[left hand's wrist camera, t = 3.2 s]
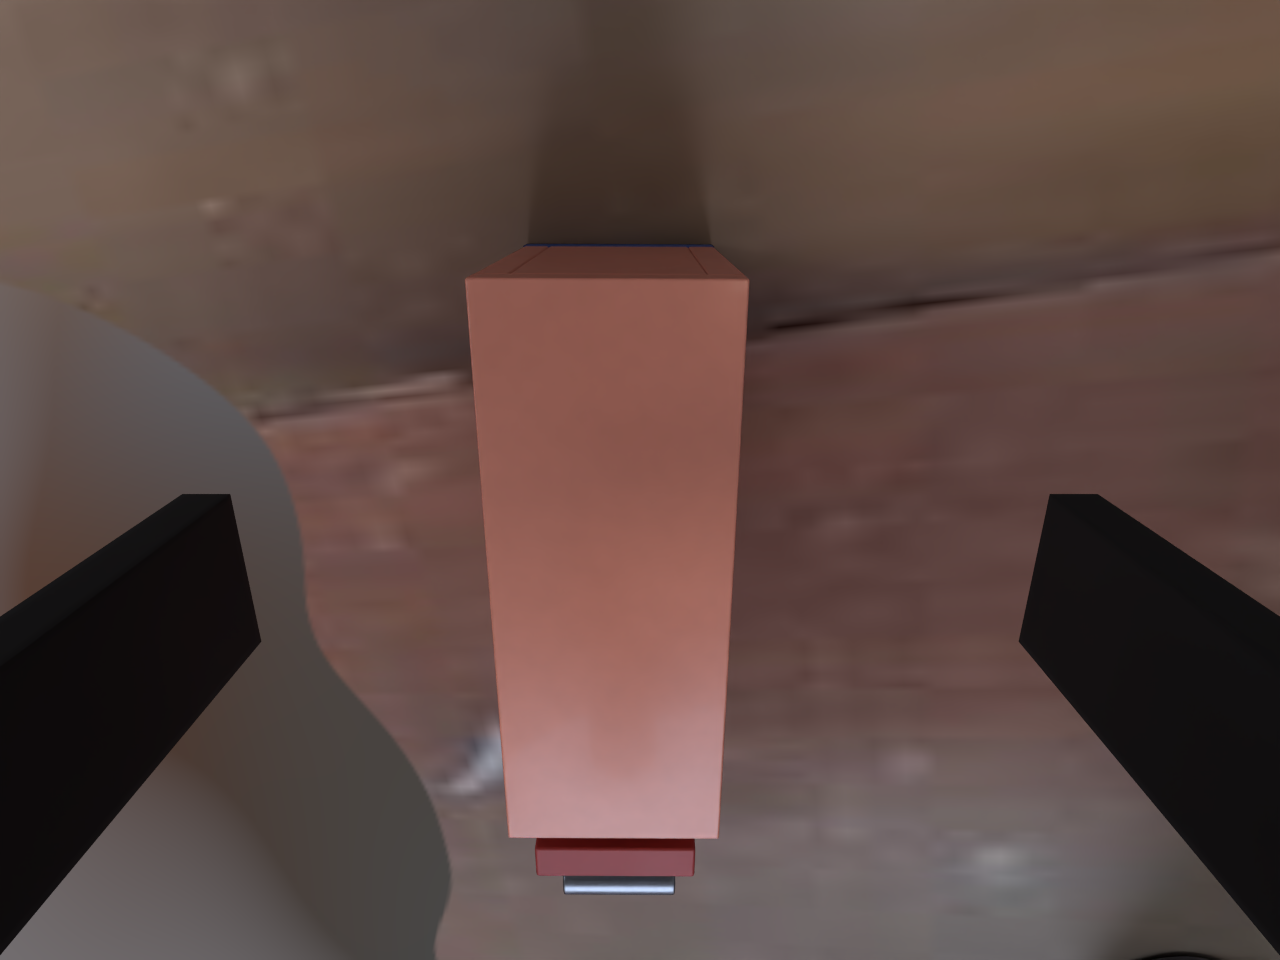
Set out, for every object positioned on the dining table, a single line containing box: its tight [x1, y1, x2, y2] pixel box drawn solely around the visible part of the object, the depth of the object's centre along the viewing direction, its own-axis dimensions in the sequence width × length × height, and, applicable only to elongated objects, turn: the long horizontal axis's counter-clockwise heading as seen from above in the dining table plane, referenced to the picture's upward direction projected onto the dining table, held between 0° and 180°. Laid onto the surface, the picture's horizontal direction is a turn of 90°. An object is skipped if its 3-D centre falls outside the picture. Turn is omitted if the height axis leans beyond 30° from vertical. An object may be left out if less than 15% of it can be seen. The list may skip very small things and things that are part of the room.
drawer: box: [535, 838, 695, 895], centre depth 26 cm, size 20×5×8 cm, turn 0°
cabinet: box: [465, 244, 749, 839], centre depth 24 cm, size 16×6×10 cm, turn 0°
